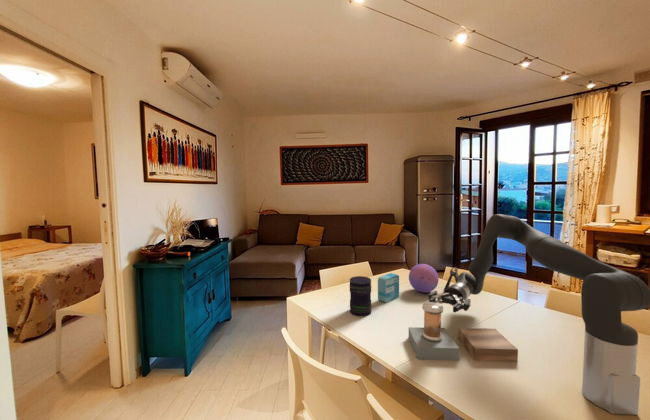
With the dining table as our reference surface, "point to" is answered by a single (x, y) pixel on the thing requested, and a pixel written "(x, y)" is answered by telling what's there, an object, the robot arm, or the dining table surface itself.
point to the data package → (388, 287)
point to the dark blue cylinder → (360, 296)
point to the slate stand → (433, 346)
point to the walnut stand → (487, 344)
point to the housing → (432, 322)
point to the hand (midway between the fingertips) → (442, 306)
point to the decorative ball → (423, 278)
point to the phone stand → (451, 277)
